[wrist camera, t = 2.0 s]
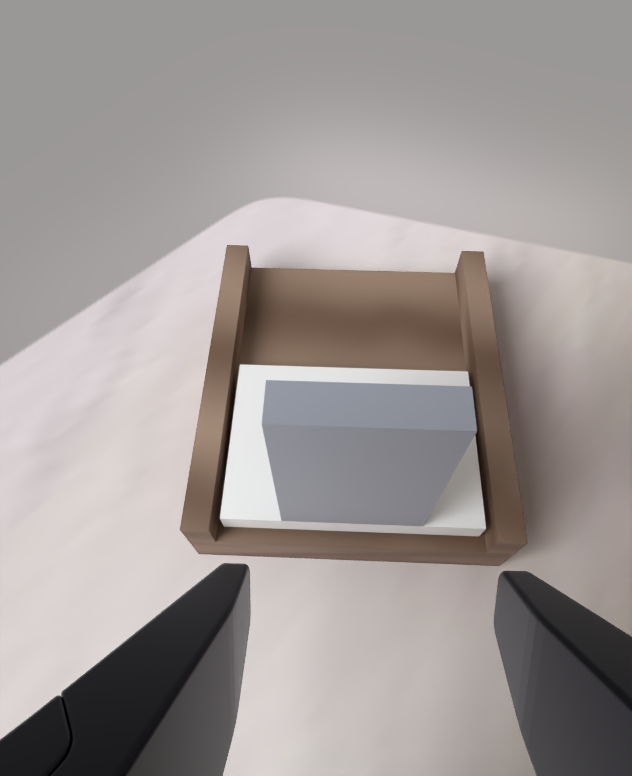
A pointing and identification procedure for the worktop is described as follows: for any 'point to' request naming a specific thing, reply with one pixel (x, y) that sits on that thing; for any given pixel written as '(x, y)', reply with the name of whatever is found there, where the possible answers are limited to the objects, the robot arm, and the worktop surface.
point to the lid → (353, 451)
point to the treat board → (355, 350)
